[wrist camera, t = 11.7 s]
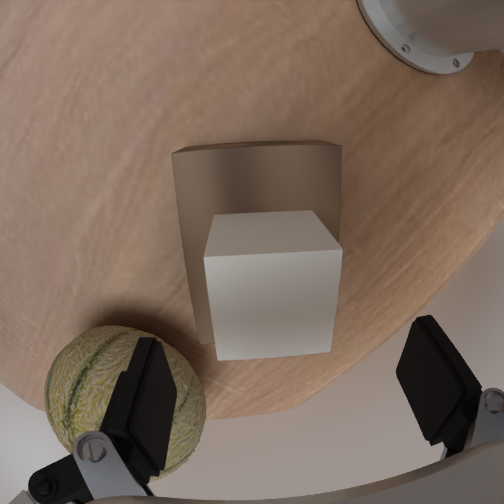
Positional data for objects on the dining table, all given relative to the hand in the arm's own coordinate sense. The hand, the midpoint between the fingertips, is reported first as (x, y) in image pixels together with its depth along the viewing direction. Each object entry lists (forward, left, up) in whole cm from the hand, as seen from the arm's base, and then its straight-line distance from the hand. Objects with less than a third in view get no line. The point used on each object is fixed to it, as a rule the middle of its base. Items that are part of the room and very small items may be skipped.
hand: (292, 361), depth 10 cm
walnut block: (0, +1, -15) cm, 15 cm away
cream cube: (0, 0, -10) cm, 10 cm away
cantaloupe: (+13, +13, -15) cm, 24 cm away
